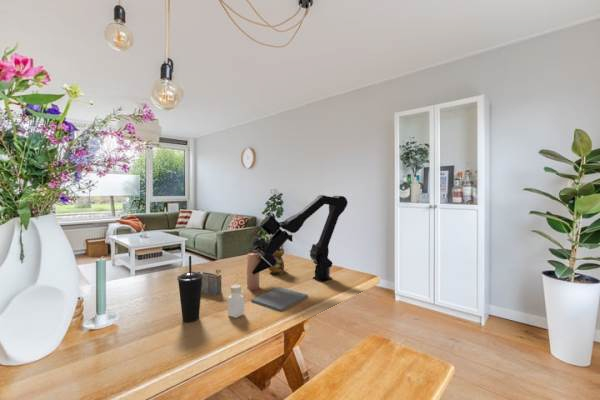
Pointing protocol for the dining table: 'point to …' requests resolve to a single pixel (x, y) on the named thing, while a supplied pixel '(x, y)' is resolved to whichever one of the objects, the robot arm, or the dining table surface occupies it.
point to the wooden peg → (251, 264)
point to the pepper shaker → (235, 302)
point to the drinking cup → (190, 294)
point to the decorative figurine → (278, 262)
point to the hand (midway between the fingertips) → (250, 270)
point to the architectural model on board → (211, 283)
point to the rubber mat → (279, 298)
